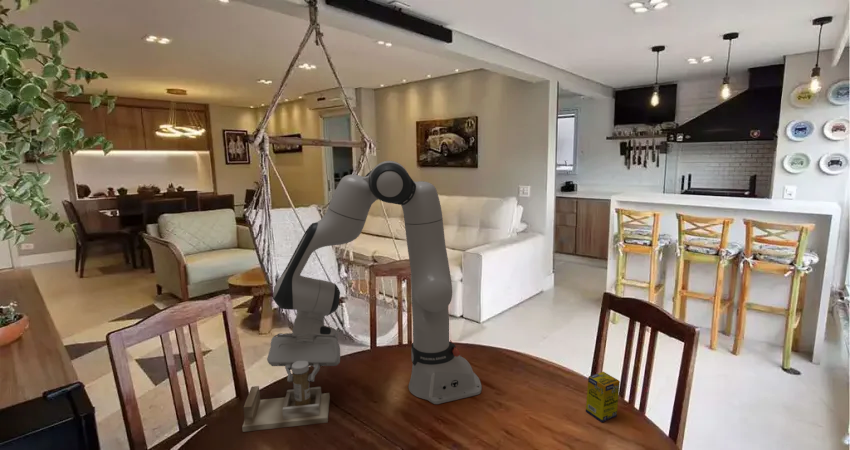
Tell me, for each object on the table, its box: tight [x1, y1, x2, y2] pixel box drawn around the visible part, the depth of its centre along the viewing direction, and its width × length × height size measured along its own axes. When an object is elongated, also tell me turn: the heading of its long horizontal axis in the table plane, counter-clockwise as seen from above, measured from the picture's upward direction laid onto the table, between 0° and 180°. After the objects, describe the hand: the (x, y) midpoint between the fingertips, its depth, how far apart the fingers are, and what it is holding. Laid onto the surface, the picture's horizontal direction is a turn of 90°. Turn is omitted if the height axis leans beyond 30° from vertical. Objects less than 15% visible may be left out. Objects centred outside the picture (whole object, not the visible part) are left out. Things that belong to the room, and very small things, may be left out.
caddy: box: [241, 385, 331, 433], centre depth 123 cm, size 22×12×6 cm, turn 100°
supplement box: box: [585, 371, 621, 423], centre depth 121 cm, size 6×6×11 cm
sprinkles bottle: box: [291, 361, 311, 406], centre depth 123 cm, size 5×5×13 cm
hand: (300, 381), depth 122 cm, fingers closed on sprinkles bottle, 4 cm apart
